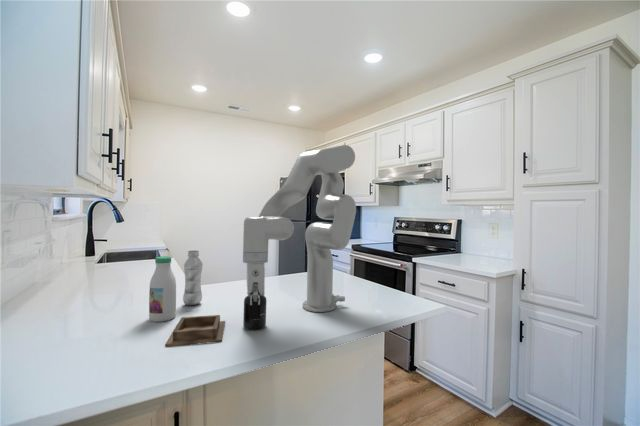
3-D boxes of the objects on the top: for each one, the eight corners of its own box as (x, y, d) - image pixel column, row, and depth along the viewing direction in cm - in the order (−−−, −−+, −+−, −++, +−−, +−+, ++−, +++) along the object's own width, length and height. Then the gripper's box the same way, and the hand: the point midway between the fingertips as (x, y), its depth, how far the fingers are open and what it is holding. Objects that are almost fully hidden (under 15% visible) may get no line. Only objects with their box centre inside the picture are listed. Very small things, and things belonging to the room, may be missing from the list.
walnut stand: (225, 322, 94) (225, 312, 94) (221, 341, 80) (221, 330, 80) (177, 326, 90) (177, 316, 90) (165, 346, 77) (165, 334, 77)
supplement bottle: (260, 332, 87) (261, 291, 87) (239, 329, 88) (239, 289, 88) (269, 323, 94) (269, 285, 94) (249, 321, 95) (249, 284, 95)
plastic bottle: (178, 305, 109) (179, 251, 109) (193, 300, 115) (193, 249, 115) (192, 308, 107) (192, 252, 106) (206, 303, 113) (206, 250, 113)
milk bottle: (171, 312, 102) (171, 254, 102) (179, 318, 97) (180, 257, 96) (146, 317, 97) (146, 256, 97) (153, 324, 91) (153, 259, 91)
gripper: (270, 261, 83) (268, 322, 83) (266, 253, 100) (264, 303, 100) (242, 261, 82) (240, 324, 82) (243, 253, 98) (241, 304, 98)
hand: (254, 312), depth 91 cm, fingers open, 9 cm apart
